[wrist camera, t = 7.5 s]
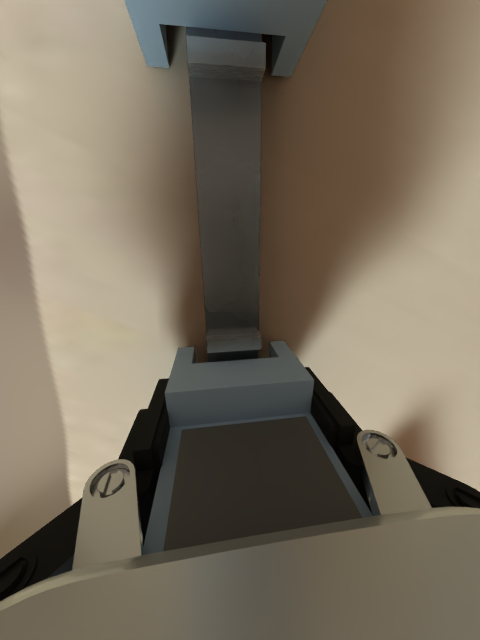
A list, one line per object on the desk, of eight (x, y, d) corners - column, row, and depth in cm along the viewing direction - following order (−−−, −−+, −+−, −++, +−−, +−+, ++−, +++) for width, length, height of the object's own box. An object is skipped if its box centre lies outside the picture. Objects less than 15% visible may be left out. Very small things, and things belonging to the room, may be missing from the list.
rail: (175, -165, 7) (157, -384, 5) (251, -151, 7) (271, -350, 5) (213, 424, 14) (214, 462, 12) (251, 420, 15) (259, 456, 12)
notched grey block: (283, 340, 12) (448, 553, 4) (280, 408, 14) (395, 674, 5) (178, 347, 12) (94, 623, 3) (186, 418, 13) (142, 739, 5)
